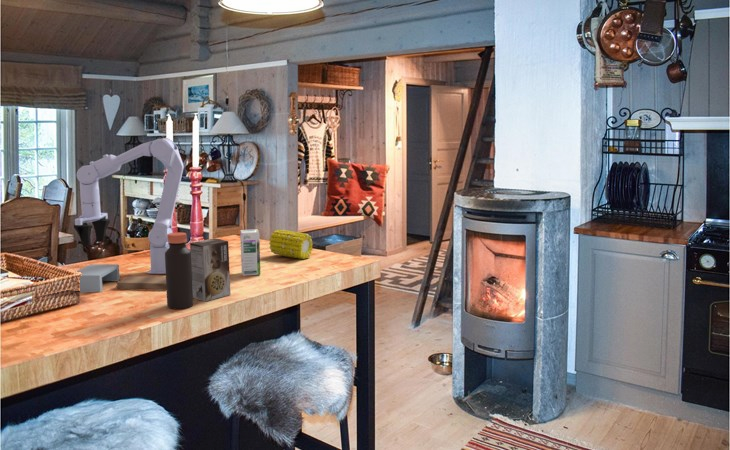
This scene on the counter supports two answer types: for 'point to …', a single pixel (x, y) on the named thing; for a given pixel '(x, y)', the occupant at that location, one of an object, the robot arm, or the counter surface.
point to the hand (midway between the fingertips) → (93, 243)
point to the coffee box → (210, 269)
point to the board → (142, 283)
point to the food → (291, 244)
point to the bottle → (178, 272)
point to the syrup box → (250, 252)
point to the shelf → (97, 276)
